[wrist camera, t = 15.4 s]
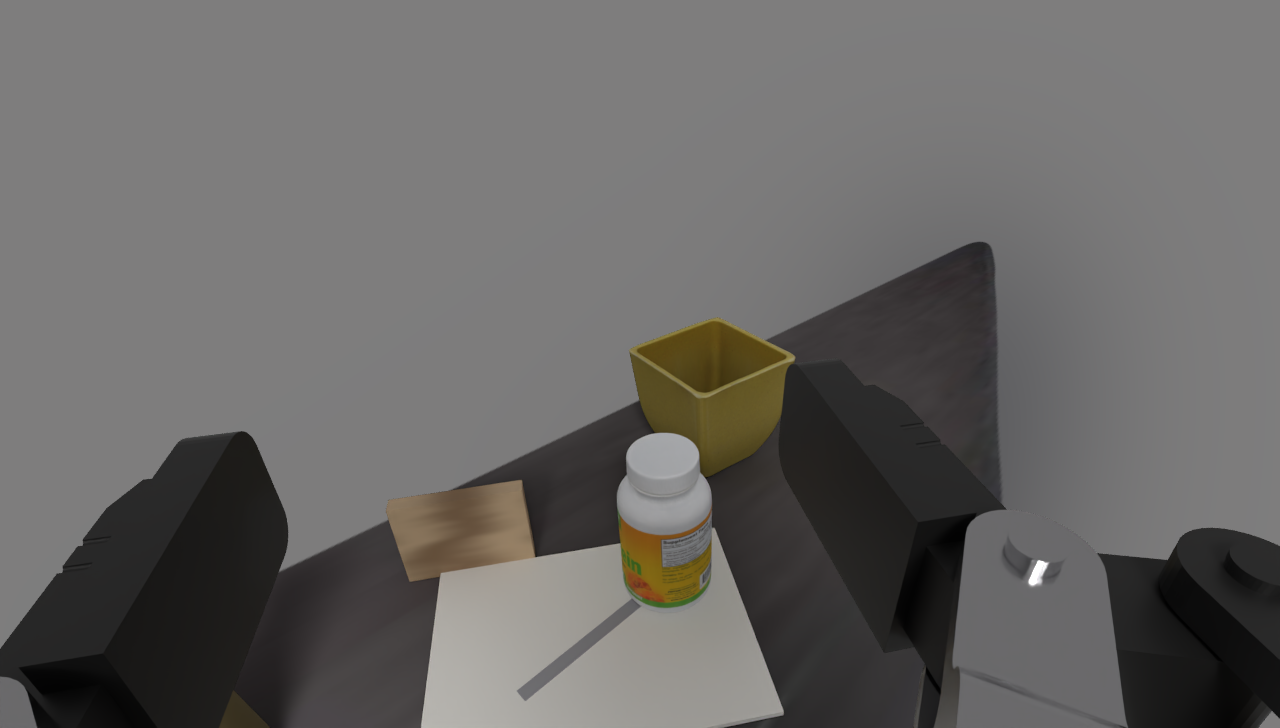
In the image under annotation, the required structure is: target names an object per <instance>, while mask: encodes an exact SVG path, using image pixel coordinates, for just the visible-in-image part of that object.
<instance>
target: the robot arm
mask: <svg viewBox="0 0 1280 728" xmlns="http://www.w3.org/2000/svg"><path fill="white" fill-rule="evenodd" d="M779 456H780V462H781V466H782V470H783V473H784V476H785V478H786V480H787V482H788V484H789V486H790V487H791V489H792V491H793V493H794V494H795V496H796V498H797V500H798V502H799V503H800V505H801V507H802V509H803V510H804V512H805V514H806V516H807V517H808V519H809V521H810V523H811V525H812V526H813V528H814V530H815V532H816V533H817V535H818V537H819V539H820V540H821V542H822V544H823V546H824V547H825V549H826V551H827V553H828V555H829V556H830V558H831V560H832V562H833V563H834V565H835V567H836V569H837V570H838V572H839V574H840V576H841V577H842V579H843V581H844V583H845V585H846V586H847V588H848V590H849V592H850V593H851V595H852V597H853V599H854V600H855V602H856V604H857V606H858V608H859V609H860V611H861V613H862V615H863V616H864V618H865V620H866V622H867V623H868V625H869V627H870V629H871V630H872V632H873V634H874V636H875V638H876V639H877V641H878V643H879V645H880V646H881V648H882V650H883V652H884V653H887V652H892V651H897V650H902V649H907V648H912V647H915V649H916V650H917V652H918V654H919V655H920V657H921V658H922V660H923V662H924V663H925V664H924V668H923V671H922V674H921V678H920V684H919V691H918V698H917V705H916V711H915V718H914V725H913V728H1258V727H1259V726H1260V725H1261V724H1262V722H1263V721H1264V720H1265V718H1266V717H1267V716H1268V715H1269V714H1270V712H1271V711H1273V712H1274V713H1275V714H1276V715H1277V716H1278V717H1279V718H1280V546H1278V545H1276V544H1274V543H1271V542H1269V541H1267V540H1264V539H1261V538H1259V537H1256V536H1252V535H1249V534H1246V533H1241V532H1238V531H1233V530H1228V529H1220V528H1201V529H1196V530H1192V531H1189V532H1187V533H1185V534H1184V535H1183V536H1182V537H1181V538H1180V539H1179V541H1178V543H1177V545H1176V547H1175V548H1174V550H1173V552H1172V554H1171V555H1170V557H1169V559H1168V560H1161V559H1150V558H1140V557H1129V556H1119V555H1109V554H1099V553H1096V552H1095V550H1094V549H1093V548H1092V547H1091V546H1090V545H1089V544H1088V543H1087V542H1086V541H1085V540H1083V539H1082V538H1081V537H1080V536H1078V535H1077V534H1076V533H1074V532H1073V531H1071V530H1070V529H1068V528H1066V527H1065V526H1063V525H1061V524H1059V523H1057V522H1055V521H1053V520H1050V519H1048V518H1045V517H1043V516H1039V515H1036V514H1033V513H1028V512H1024V511H1017V510H1007V509H1006V508H1005V507H1004V506H1003V505H1002V504H1001V503H1000V502H999V501H998V500H997V499H996V498H995V497H994V496H993V495H992V494H991V492H990V491H989V490H988V489H987V488H986V487H985V486H984V485H983V484H982V483H981V482H980V481H979V480H978V479H977V478H976V477H975V476H974V475H973V474H972V473H971V472H970V470H969V469H968V468H967V467H966V466H965V465H964V464H963V463H962V462H961V461H960V460H959V459H958V458H957V457H956V456H955V455H954V454H953V453H952V452H951V451H950V449H949V448H948V447H947V446H946V445H941V443H940V439H939V438H938V437H937V436H936V435H935V434H934V433H933V432H932V431H931V430H930V428H929V427H924V422H923V421H922V420H921V419H920V418H919V417H918V416H917V415H916V414H915V413H914V412H913V411H912V410H911V409H910V407H909V406H908V405H907V404H906V403H905V402H904V401H902V400H900V399H899V398H897V397H895V396H893V395H892V394H890V393H888V392H886V391H884V390H883V389H881V388H879V387H877V386H875V385H868V386H864V385H863V384H862V383H861V382H860V381H859V380H858V378H857V377H856V376H855V375H854V374H853V373H852V372H851V371H850V369H849V368H848V367H847V366H846V365H845V364H844V363H843V362H842V361H841V360H839V359H836V358H835V359H827V360H819V361H811V362H803V363H795V364H791V365H789V367H788V369H787V371H786V375H785V383H784V393H783V403H782V414H781V424H780V434H779ZM287 543H288V525H287V518H286V514H285V511H284V508H283V506H282V504H281V501H280V499H279V497H278V494H277V492H276V490H275V488H274V485H273V483H272V480H271V478H270V476H269V473H268V471H267V469H266V466H265V464H264V462H263V459H262V457H261V455H260V452H259V450H258V447H257V445H256V443H255V441H254V440H253V438H252V437H251V436H250V435H249V434H248V433H246V432H242V431H241V432H233V433H224V434H216V435H209V436H200V437H193V438H185V439H182V440H181V441H179V442H178V444H177V445H176V446H175V447H174V449H173V450H172V451H171V453H170V454H169V456H168V457H167V458H166V460H165V461H164V463H163V464H162V465H161V467H160V468H159V470H158V471H157V473H156V474H155V475H154V477H153V478H152V479H146V480H142V481H141V482H140V483H138V484H137V485H136V486H135V487H133V488H132V489H131V490H130V491H128V492H127V493H126V494H124V495H123V496H122V497H121V498H119V499H118V500H117V501H115V502H114V503H113V504H112V505H110V506H109V507H108V508H106V510H105V511H104V513H103V514H102V515H101V516H100V518H99V519H98V521H97V522H96V523H95V524H94V526H93V527H92V528H91V530H90V531H89V532H88V534H87V535H86V536H85V537H84V539H83V546H78V547H77V548H76V549H75V551H74V552H73V553H72V555H71V556H70V557H69V559H68V560H67V561H66V563H65V564H64V565H63V572H62V573H59V574H57V575H56V576H55V577H54V578H53V580H52V581H51V582H50V584H49V585H48V586H47V588H46V589H45V591H44V592H43V593H42V594H41V596H40V597H39V598H38V600H37V601H36V602H35V604H34V605H33V606H32V608H31V609H30V610H29V612H28V613H27V614H26V616H25V617H24V618H23V620H22V621H21V622H20V624H19V625H18V626H17V627H16V629H15V630H14V631H13V633H12V634H11V635H10V637H9V638H8V639H7V641H6V642H5V643H4V645H3V646H2V647H1V649H0V728H219V726H220V723H221V721H222V718H223V716H224V713H225V710H226V708H227V705H228V703H229V700H230V697H231V695H232V692H233V690H234V687H235V684H236V682H237V679H238V676H239V674H240V671H241V669H242V666H243V663H244V661H245V658H246V656H247V653H248V650H249V648H250V645H251V643H252V640H253V637H254V635H255V632H256V629H257V627H258V624H259V622H260V619H261V616H262V614H263V611H264V609H265V606H266V603H267V601H268V598H269V596H270V593H271V590H272V588H273V585H274V582H275V580H276V577H277V575H278V572H279V569H280V567H281V564H282V562H283V559H284V556H285V553H286V549H287Z"/></svg>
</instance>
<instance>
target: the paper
mask: <svg viewBox="0 0 1280 728" xmlns="http://www.w3.org/2000/svg"><path fill="white" fill-rule="evenodd" d="M711 566H712V567H711V581H710V585H709V588H708V590H707V592H706V594H705V595H704V597H703V598H702V599H701V600H700V601H699V602H698V603H696V604H695V605H693V606H692V607H690V608H688V609H685V610H682V611H679V612H673V613H660V612H655V611H651V610H649V609H646V608H644V607H642V606H641V605H639V604H638V603H636V602H635V601H634V600H633V599H632V598H631V597H630V595H629V594H628V592H627V590H626V588H625V584H624V579H623V570H622V557H621V545H620V543H619V544H613V545H607V546H601V547H595V548H589V549H583V550H577V551H571V552H565V553H559V554H553V555H547V556H541V557H535V558H529V559H523V560H517V561H511V562H505V563H499V564H493V565H487V566H481V567H475V568H469V569H463V570H457V571H451V572H445V573H441V575H440V583H439V590H438V598H437V606H436V614H435V622H434V629H433V637H432V645H431V653H430V661H429V669H428V676H427V684H426V692H425V700H424V708H423V716H422V723H421V728H723V727H728V726H733V725H738V724H743V723H748V722H752V721H757V720H762V719H767V718H772V717H777V716H782V715H784V711H783V708H782V705H781V703H780V700H779V697H778V695H777V692H776V689H775V687H774V684H773V681H772V679H771V676H770V674H769V671H768V668H767V666H766V663H765V660H764V658H763V655H762V652H761V650H760V647H759V644H758V642H757V639H756V636H755V634H754V631H753V628H752V626H751V623H750V621H749V618H748V615H747V613H746V610H745V607H744V605H743V602H742V599H741V597H740V594H739V591H738V589H737V586H736V583H735V581H734V578H733V575H732V573H731V570H730V568H729V565H728V562H727V560H726V557H725V554H724V552H723V549H722V546H721V544H720V541H719V538H718V536H717V533H716V530H715V528H712V562H711Z"/></svg>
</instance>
